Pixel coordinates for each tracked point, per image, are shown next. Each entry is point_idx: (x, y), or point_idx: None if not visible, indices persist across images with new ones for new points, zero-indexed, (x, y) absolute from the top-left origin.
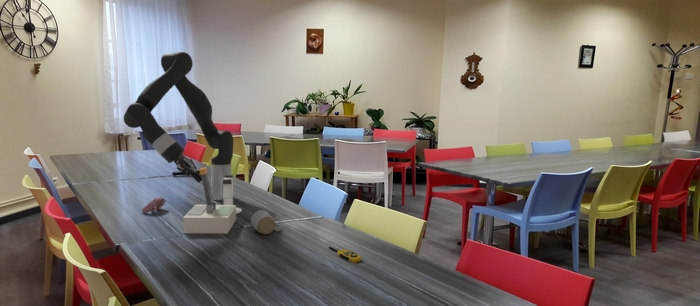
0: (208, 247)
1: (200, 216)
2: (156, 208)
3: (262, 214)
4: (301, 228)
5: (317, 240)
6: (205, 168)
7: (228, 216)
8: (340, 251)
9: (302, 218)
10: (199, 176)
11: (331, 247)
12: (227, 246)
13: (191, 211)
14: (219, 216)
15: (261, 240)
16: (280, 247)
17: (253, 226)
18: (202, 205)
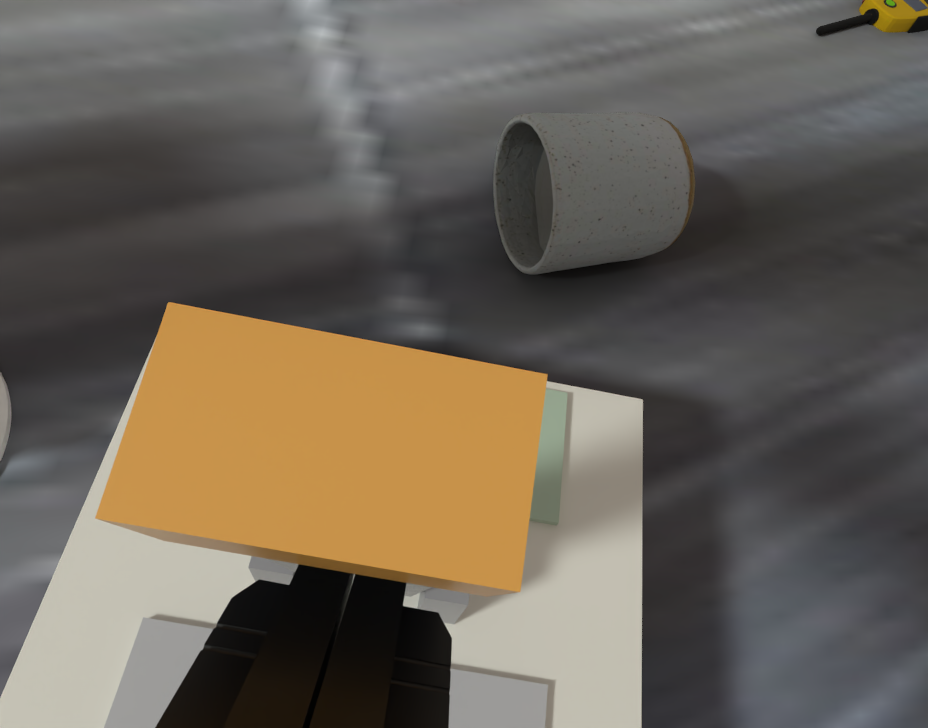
0: (911, 601)
1: (595, 684)
2: None
3: (637, 145)
4: (515, 57)
5: (714, 45)
6: (391, 350)
7: (598, 394)
8: (896, 10)
9: (310, 10)
10: (397, 640)
11: (833, 23)
12: (868, 467)
13: None
14: (596, 475)
15: (733, 267)
16: (835, 198)
17: (574, 267)
18: (46, 706)
